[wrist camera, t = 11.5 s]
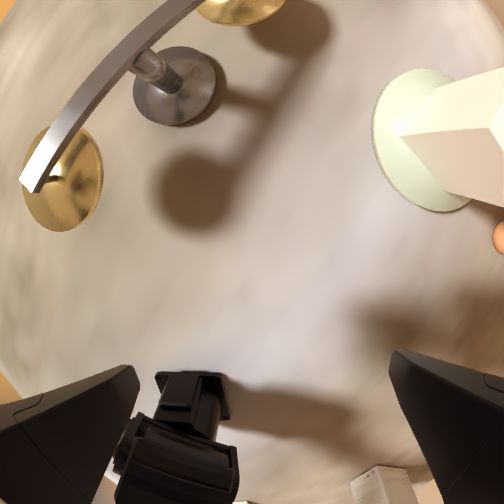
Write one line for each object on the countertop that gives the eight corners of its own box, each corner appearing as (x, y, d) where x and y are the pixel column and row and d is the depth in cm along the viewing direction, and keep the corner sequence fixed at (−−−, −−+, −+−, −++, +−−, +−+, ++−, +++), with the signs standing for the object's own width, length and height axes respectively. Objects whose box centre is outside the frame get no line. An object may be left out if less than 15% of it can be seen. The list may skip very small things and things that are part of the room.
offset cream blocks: (444, 191, 18) (575, 234, 6) (398, 136, 17) (536, 126, 5) (478, 142, 16) (601, 153, 5) (435, 88, 16) (560, 55, 4)
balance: (124, 223, 21) (43, 268, 12) (74, 180, 20) (-16, 200, 11) (300, 10, 16) (319, -71, 6) (237, -24, 15) (222, -104, 5)
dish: (482, 207, 19) (490, 210, 18) (375, 211, 20) (381, 214, 19) (473, 83, 16) (481, 81, 15) (362, 65, 17) (367, 60, 16)
